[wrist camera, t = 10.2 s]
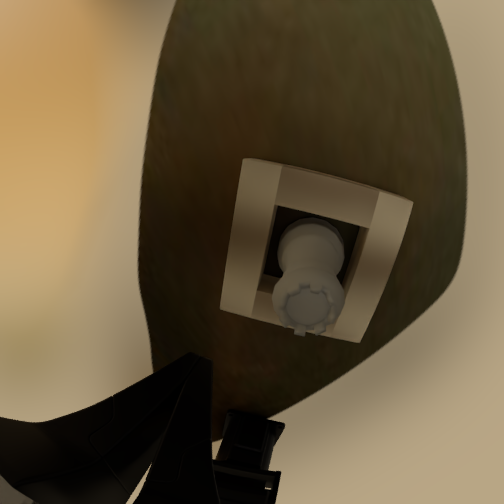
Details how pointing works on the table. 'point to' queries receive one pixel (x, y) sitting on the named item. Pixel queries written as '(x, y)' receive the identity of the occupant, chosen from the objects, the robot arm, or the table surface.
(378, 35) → the table surface
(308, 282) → the rook chess piece
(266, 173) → the socket collar
